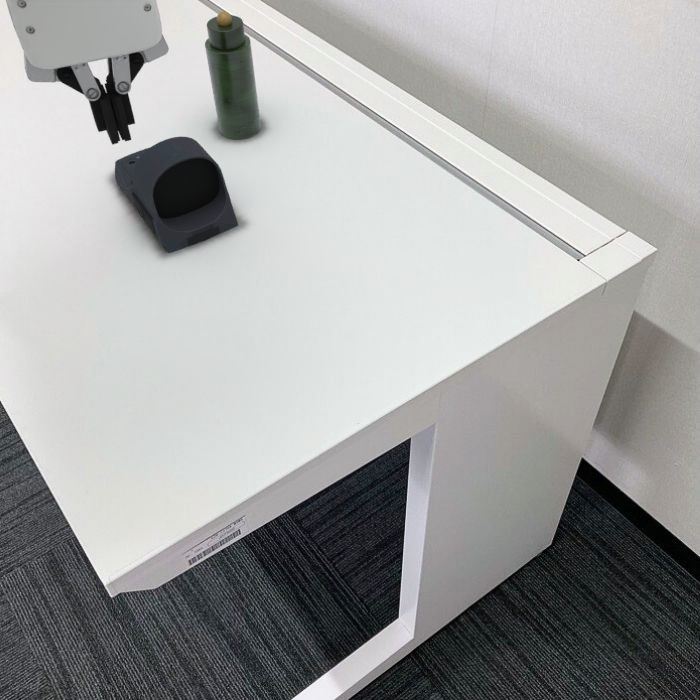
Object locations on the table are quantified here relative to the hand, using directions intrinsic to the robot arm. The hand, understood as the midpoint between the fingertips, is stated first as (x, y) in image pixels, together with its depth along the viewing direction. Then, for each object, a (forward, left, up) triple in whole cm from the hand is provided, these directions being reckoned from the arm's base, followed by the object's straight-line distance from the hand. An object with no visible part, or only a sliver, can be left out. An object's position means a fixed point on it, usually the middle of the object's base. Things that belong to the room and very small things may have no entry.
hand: (118, 133), depth 63 cm
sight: (+5, +20, -22) cm, 30 cm away
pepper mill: (+18, +31, -22) cm, 42 cm away
